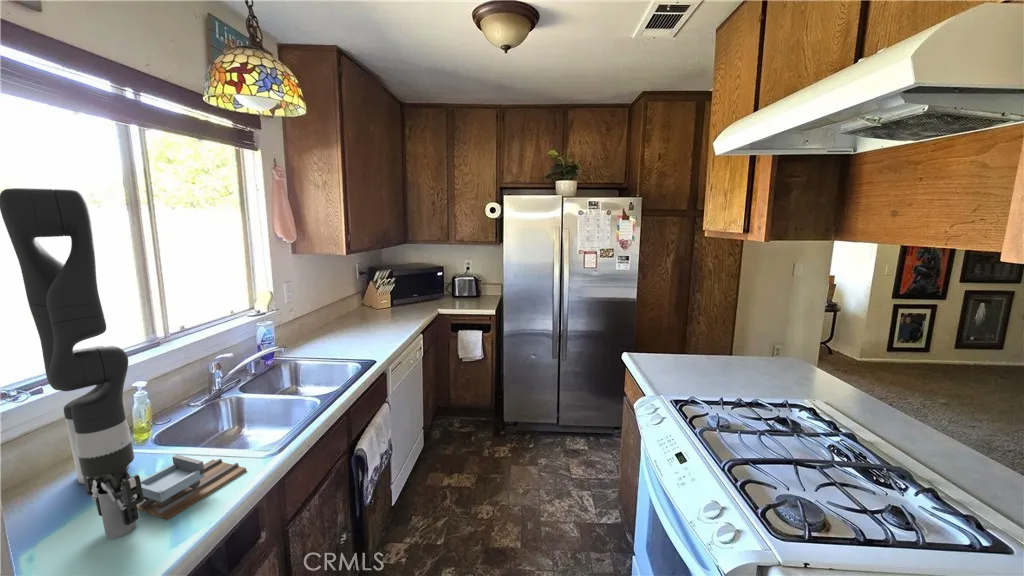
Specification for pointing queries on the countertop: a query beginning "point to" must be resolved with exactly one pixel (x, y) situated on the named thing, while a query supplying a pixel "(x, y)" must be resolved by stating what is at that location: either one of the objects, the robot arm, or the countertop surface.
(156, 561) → the countertop surface
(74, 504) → the countertop surface
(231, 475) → the rail board
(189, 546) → the countertop surface
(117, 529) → the grey cylindrical cup
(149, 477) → the grey open box
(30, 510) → the countertop surface
